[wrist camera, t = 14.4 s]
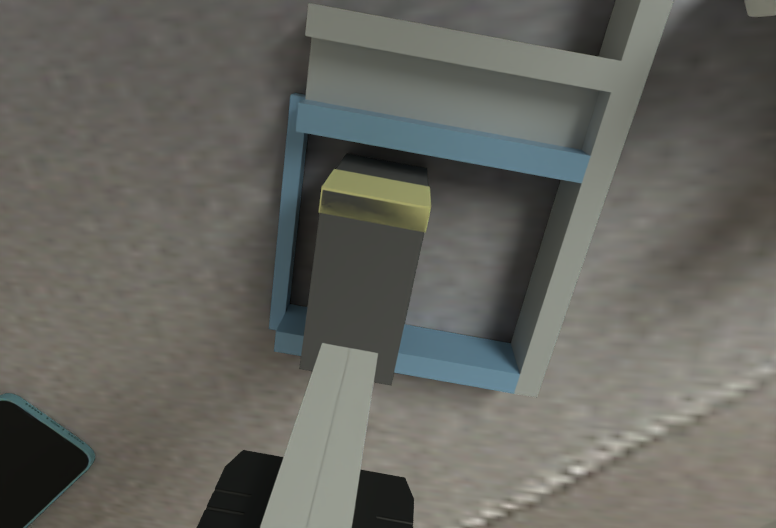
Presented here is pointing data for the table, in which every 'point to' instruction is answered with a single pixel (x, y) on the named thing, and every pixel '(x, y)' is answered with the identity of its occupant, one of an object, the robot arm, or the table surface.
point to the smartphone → (35, 461)
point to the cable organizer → (760, 8)
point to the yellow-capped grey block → (366, 259)
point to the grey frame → (473, 153)
